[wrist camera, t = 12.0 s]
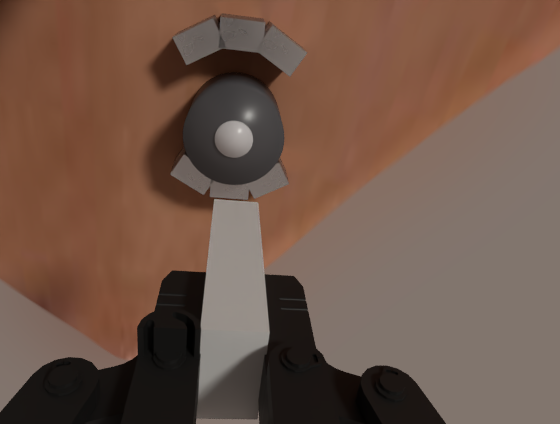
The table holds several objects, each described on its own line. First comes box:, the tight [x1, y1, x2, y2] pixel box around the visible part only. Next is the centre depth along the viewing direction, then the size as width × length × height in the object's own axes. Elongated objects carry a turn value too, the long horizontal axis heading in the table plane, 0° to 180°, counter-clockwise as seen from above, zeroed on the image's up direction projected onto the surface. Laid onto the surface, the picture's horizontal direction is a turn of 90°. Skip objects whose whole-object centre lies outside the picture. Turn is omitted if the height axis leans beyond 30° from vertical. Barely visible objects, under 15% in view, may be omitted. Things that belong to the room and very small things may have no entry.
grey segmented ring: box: [170, 14, 307, 200], centre depth 32 cm, size 12×8×3 cm
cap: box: [183, 72, 284, 185], centre depth 32 cm, size 6×6×5 cm
